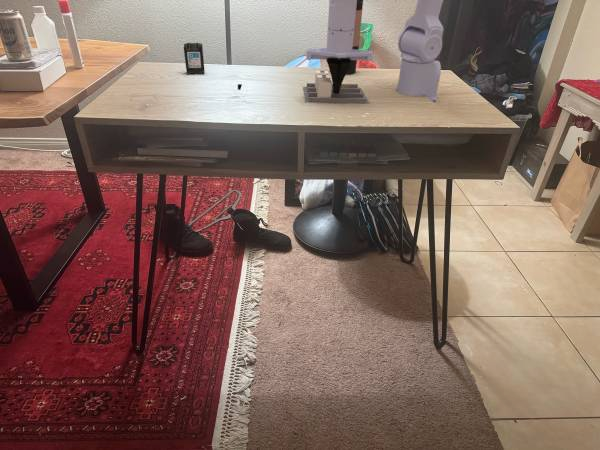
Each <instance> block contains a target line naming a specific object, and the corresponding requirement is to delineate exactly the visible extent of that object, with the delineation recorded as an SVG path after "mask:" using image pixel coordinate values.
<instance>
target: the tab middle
mask: <svg viewBox="0 0 600 450" xmlns="http://www.w3.org/2000/svg"><path fill="white" fill-rule="evenodd" d="M323 77H327V79H331V75H330V74H329V75H326V74H325V72H322V74H321V75H317V81H316V92H317V86H318V79H323Z"/></svg>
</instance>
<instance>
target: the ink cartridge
mask: <svg viewBox="0 0 600 450" xmlns="http://www.w3.org/2000/svg"><path fill="white" fill-rule="evenodd" d="M183 53H184V60H185V61H184V62H185V71H186V75H195V74H203V75H204V74H205V70H206V69H205V59H204V50H203V43H201V42H200V43H199V42H186V43H184V44H183Z"/></svg>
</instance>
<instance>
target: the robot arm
mask: <svg viewBox="0 0 600 450" xmlns="http://www.w3.org/2000/svg"><path fill="white" fill-rule="evenodd" d="M443 3H444V0H417V2H416V7H415V11H414V13H413V15H411V16H410V17H409V18H408V19H407V20H406V22H405V24H404V28H403V30H402V31H401V33H400V35H399V37H398V41H397V46H398V47H397V48H398V50H399V52H400V58H401V64H400V70H399V77H398V80H397V81H398V82H397V89H396V91H397V93H399V94H401V95H404V96H409V97H422V96H424V97H425V96H426V97H427V98H428V99H429V100H430V101H434V102H435V101H437V93H438V87H439V83H440V79H441V73H442V72H441V71H442V66H441V62H440V61H439V60H435V59H437V58H438V57H439V55H440V53H441V51H442V48H443V34H444V26H443V25H442V23H441V20H440V19H439V18H440V17H439V16H440V14H441V13H440V12H441V9H442V6H443ZM356 5H357V0H329V3H328V20H327V37H326V38H327V39H326V48H325V47H324V48H306V50H305V51H306V53H305V54H306V55H305V59H306V60H307V61H312V60H325V61H326V63H327V66H328V69H329V74H330V78H331V81H332V84H333V92H334V94H339V91H340V88H341V84H343V82H344V79H345V77H346V76H347V75H346V73H347V71H348V70H349V68H350V66H351V62H350V61H351V60H357V61H365V62H372V58H373V51H372V50H369V49H367V50H364V49H358V50H356V49H352V48H353V37H354V26H355V16H356Z"/></svg>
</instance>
